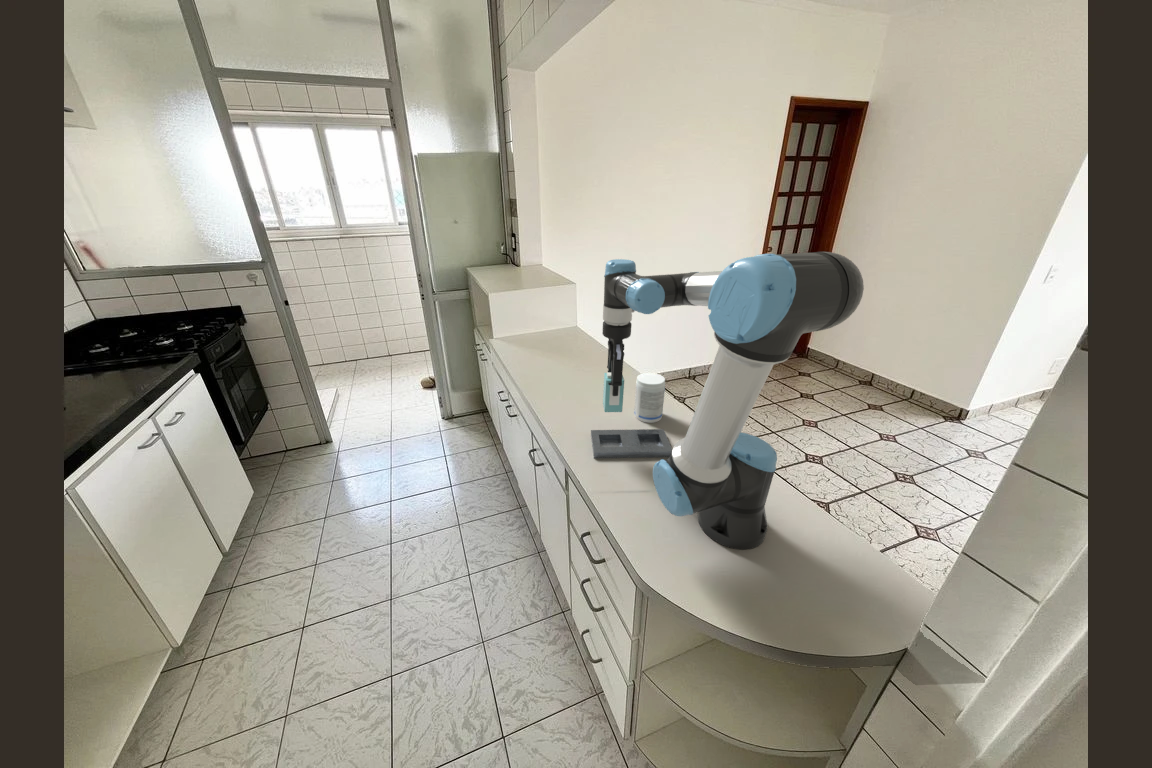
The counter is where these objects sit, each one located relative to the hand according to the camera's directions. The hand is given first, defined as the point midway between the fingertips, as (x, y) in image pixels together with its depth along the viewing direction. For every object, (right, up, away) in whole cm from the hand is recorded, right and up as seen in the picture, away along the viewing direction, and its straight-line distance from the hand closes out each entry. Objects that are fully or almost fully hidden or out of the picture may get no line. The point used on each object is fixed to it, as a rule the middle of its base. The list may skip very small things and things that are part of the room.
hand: (612, 399), depth 117 cm
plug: (0, -2, +1) cm, 3 cm away
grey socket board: (+6, -15, +7) cm, 18 cm away
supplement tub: (+14, -7, +24) cm, 29 cm away
